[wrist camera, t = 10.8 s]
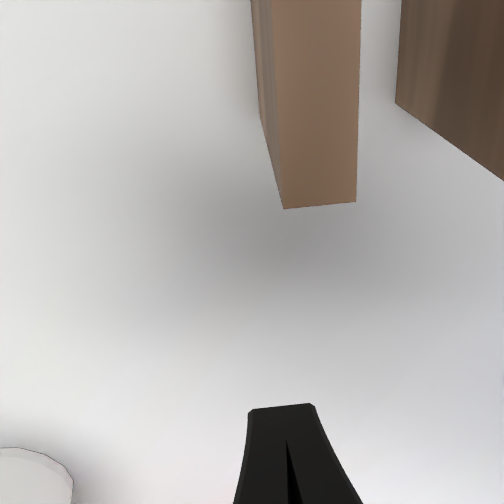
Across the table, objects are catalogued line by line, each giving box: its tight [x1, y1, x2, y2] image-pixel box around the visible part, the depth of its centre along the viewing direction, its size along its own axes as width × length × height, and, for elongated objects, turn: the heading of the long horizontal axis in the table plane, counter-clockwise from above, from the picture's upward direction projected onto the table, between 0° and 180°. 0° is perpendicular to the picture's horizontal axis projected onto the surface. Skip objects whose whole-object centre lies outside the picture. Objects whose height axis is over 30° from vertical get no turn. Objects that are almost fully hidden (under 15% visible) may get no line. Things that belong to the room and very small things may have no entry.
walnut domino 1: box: [251, 0, 361, 209], centre depth 12 cm, size 2×5×8 cm, turn 5°
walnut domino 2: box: [395, 0, 504, 181], centre depth 12 cm, size 2×5×8 cm, turn 5°
